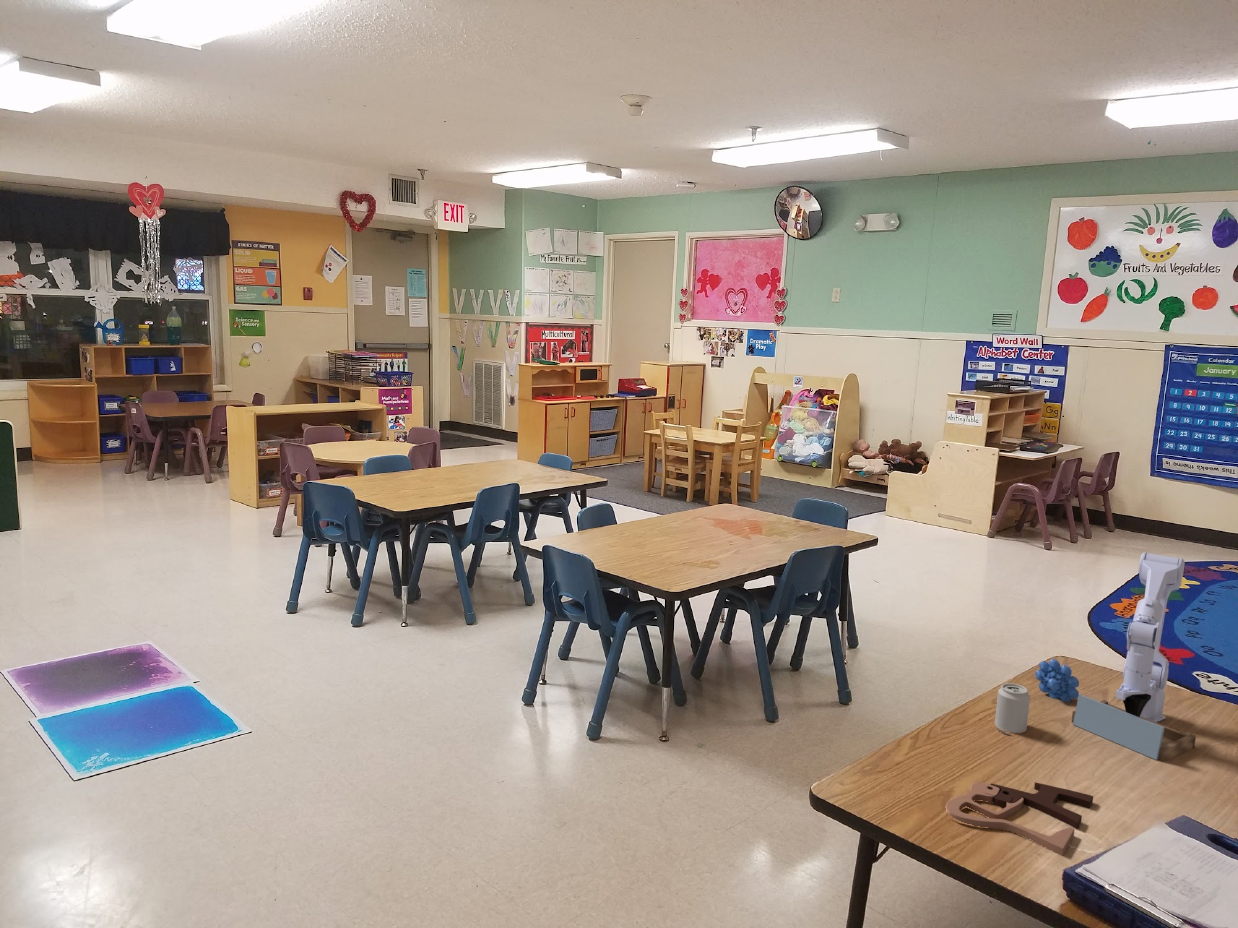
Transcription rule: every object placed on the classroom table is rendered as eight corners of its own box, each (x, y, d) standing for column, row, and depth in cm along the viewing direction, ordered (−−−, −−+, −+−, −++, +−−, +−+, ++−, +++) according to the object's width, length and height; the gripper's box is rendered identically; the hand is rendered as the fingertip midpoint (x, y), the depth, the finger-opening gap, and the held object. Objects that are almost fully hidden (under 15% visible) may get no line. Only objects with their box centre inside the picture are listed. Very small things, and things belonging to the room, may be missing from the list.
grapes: (1027, 699, 250) (1031, 658, 248) (1035, 692, 255) (1040, 652, 252) (1072, 713, 242) (1077, 671, 240) (1080, 705, 247) (1084, 664, 245)
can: (1020, 725, 234) (1024, 682, 232) (1030, 739, 227) (1035, 694, 224) (990, 723, 235) (994, 680, 233) (999, 737, 227) (1004, 692, 225)
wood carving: (1092, 804, 198) (982, 768, 213) (1093, 795, 198) (983, 760, 212) (1059, 863, 177) (939, 818, 191) (1060, 853, 176) (940, 809, 191)
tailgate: (1074, 723, 232) (1080, 694, 231) (1157, 759, 214) (1164, 727, 214) (1072, 724, 232) (1078, 694, 231) (1156, 759, 214) (1162, 727, 213)
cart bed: (1102, 715, 241) (1104, 699, 240) (1193, 752, 221) (1196, 735, 220) (1070, 727, 233) (1072, 711, 233) (1162, 766, 214) (1164, 749, 213)
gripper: (1138, 680, 217) (1131, 733, 219) (1171, 669, 224) (1164, 720, 227) (1110, 670, 223) (1103, 721, 225) (1142, 659, 230) (1136, 709, 232)
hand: (1132, 720), depth 226 cm, fingers closed
